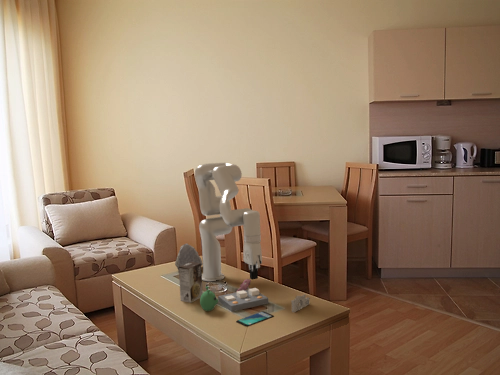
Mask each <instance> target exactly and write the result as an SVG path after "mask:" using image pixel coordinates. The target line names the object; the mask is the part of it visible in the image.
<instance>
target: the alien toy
mask: <svg viewBox="0 0 500 375" xmlns="http://www.w3.org/2000/svg"><path fill="white" fill-rule="evenodd" d="M209 288H210V286H205V289H206V291H203V294H202V295H201V297H200V298H199V304H200V307H201V308H202V309H203V310H204V311H206V312H210V311H213V310H214V309H215V307H216V305H217V304H218V303H219V302H218V298H217V296H216V294H215V292H213V291H211V290H210V289H209Z"/></svg>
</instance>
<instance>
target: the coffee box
mask: <svg viewBox="0 0 500 375" xmlns="http://www.w3.org/2000/svg"><path fill="white" fill-rule="evenodd" d="M202 274H203V272H202V266H201V263H197V262H188V263H186V264H184V265H182V266H179V270H178V275H179V277H178V278H179V296H180V299H179V300H180V301H182V302H185V303H191V304H192V303H194V302H195V301H197V300H200V297H201V295H202V294H203V293H204V291H203V280H202Z"/></svg>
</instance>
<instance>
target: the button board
mask: <svg viewBox="0 0 500 375" xmlns="http://www.w3.org/2000/svg"><path fill="white" fill-rule="evenodd" d="M246 292H247V297H246V298H241V299H240V298H238V297H237V293H236V292H232V293H231V292H230V293H227V294H220V295H217V297H218V298H217V299H218V303H220V304H221V305H222V306H223V307H225V308H226V309H227V310H228V311H229V312H235V311H241V310H246V309H250V308H253V307H258V306H262V305H267V304H269V302H270V301H269V297H267V296H266V295H264V293H263V294H262V292H259V295H255V296H251V295H249V293H248V290H246ZM230 295H232V296H234V297H235V300H231V301H226V300H225V299H224V297H225V296H230Z"/></svg>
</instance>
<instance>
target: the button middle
mask: <svg viewBox="0 0 500 375" xmlns="http://www.w3.org/2000/svg"><path fill="white" fill-rule="evenodd" d="M236 291H237V290H236ZM235 293H237V297H238V298H240V299H241V298H246V297H247V292H246V291H244V290H242V291H237V292H235Z"/></svg>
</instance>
